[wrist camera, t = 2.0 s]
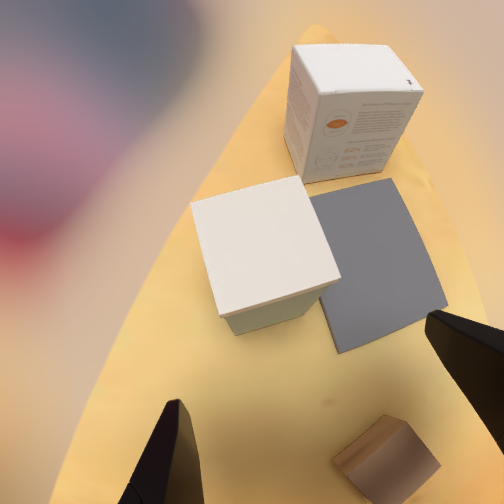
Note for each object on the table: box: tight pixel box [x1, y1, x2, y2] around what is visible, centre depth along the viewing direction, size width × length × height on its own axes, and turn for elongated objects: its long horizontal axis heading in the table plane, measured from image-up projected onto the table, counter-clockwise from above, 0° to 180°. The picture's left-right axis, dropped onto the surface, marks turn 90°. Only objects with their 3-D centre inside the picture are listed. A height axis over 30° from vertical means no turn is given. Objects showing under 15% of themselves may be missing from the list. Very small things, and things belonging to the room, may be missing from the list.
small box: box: [284, 44, 424, 184], centre depth 22 cm, size 8×6×10 cm
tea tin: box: [190, 175, 341, 336], centre depth 18 cm, size 5×5×10 cm
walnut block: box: [332, 415, 441, 504], centre depth 17 cm, size 5×5×4 cm
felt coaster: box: [309, 178, 448, 354], centre depth 24 cm, size 12×10×1 cm
